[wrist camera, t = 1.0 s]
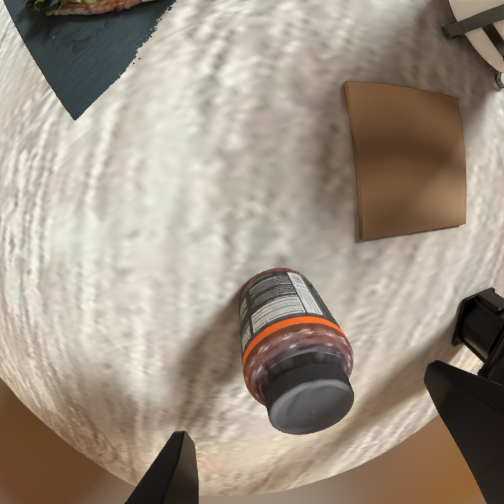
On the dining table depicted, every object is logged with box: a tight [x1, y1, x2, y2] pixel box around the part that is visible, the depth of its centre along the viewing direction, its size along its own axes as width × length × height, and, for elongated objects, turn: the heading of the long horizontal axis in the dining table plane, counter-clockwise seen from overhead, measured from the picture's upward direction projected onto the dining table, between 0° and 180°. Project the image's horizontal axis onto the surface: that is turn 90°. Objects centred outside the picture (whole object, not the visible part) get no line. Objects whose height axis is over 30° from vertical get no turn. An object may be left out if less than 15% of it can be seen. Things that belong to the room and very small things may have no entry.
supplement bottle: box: [239, 268, 354, 435], centre depth 16 cm, size 6×6×11 cm
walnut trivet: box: [344, 81, 466, 240], centre depth 18 cm, size 12×12×1 cm
